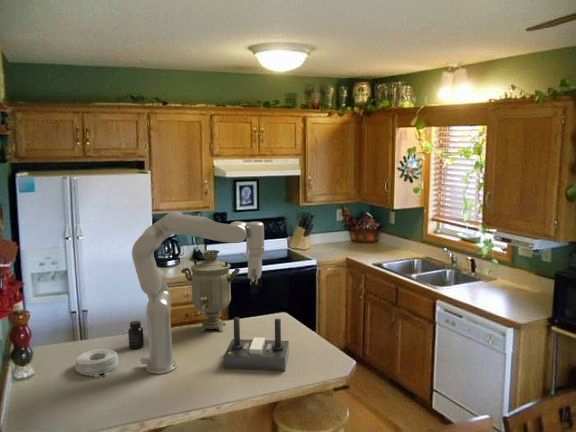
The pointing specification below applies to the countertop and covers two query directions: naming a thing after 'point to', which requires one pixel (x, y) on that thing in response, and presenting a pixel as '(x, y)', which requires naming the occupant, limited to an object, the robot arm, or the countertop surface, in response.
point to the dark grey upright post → (237, 335)
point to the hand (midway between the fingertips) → (255, 290)
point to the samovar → (211, 287)
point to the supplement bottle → (135, 335)
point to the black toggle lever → (277, 336)
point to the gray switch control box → (256, 357)
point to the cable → (96, 362)
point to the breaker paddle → (257, 346)
